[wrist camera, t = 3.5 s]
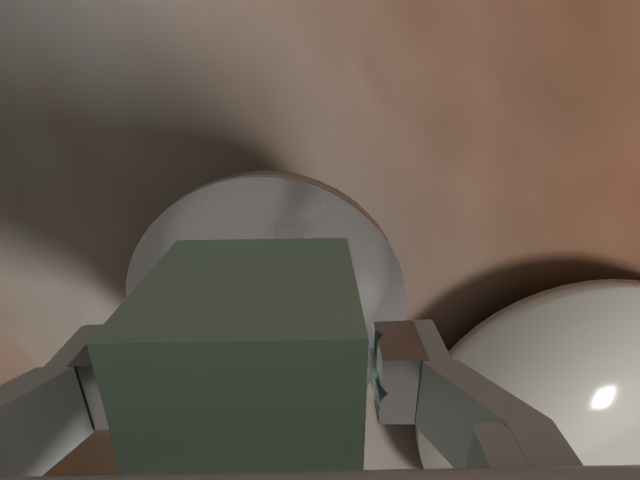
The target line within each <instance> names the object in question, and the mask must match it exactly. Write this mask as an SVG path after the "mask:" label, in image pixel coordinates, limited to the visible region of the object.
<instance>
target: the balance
mask: <svg viewBox="0 0 640 480" xmlns="http://www.w3.org/2000/svg"><path fill="white" fill-rule="evenodd" d="M301 238H347V240H348V245H349V249H350V254H351V259H352V263H353V268H354V273H355V277H356V282H357V287H358V291H359V296H360V301H361V305H362V310H363V315H364V319H365V324H366V329H367V333H368V338H369V346H368V369H367V385H368V384H369V383H370V382H371V380H370V370H369V350H370V349H371V348H372V342H371V337H370V330H371V322H378V321H405V316H406V290H405V283H404V279H403V275H402V272H401V269H400V265H399V263H398V261H397V258H396V256H395V254H394V252H393V250H392V248H391V246H390V243H389V241H388V239H387V237H386V236H385V234H384V233H383V231H382V230H381V228H380V227H379V225H378V224H377V223H376V222H375V220H374V219H373V218H372V217H371V216H370V215H369V214H368V213H367V212H366V210H364V209H363V208H362V207H361V206H360V205H358V204H357V203H356V202H355V201H354V200H353V199H351V198H350V197H348V196H347V195H345V194H343V193H342V192H340V191H339V190H337V189H335V188H333V187H331V186H329V185H327V184H325V183H323V182H320V181H318V180H315V179H312V178H308V177H305V176H302V175H298V174H292V173H287V172H281V171H263V170H261V171H248V172H240V173H235V174H230V175H225V176H222V177H219V178H216V179H213V180H211V181H208V182H205V183H203V184H201V185H200V186H198V187H196V188H194V189H192V190H190V191H188V192H187V193H186V194H184V195H183V196H182V197H180V198H179V199H177V200H176V201H175V202H174V203H173V204H171V205H170V206H169V207H168V208H167V209H166V210H165V211H164V212H163V213H162V214H161V215H160V216H159V217H158V218H157V219H156V220H155V221H154V222H153V223H152V224H151V225H150V226H149V228H148V229H147V231H146V232H145V233H144V235H143V236H142V237H141V239H140V241H139V243H138V245H137V247H136V249H135V250H134V252H133V255H132V258H131V261H130V264H129V267H128V272H127V278H126V284H125V299H126V298H127V297H128V296H129V295H130V293H131V292H132V291H133V290H134V289H135V288H136V287H137V285H138V284H139V283H140V282H141V281H142V280H143V279H144V277H145V276H146V275H147V274H148V273H149V272H150V271H151V269H152V268H153V267H154V266H155V265H156V264H157V262H158V261H159V260H160V259H161V258H162V257H163V256H164V254H165V253H166V252H167V251H168V250H169V249H170V248H171V246H172V245H173V244H174V243H175V242H176V241H177V240H230V239H301Z"/></svg>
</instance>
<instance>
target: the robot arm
mask: <svg viewBox="0 0 640 480" xmlns="http://www.w3.org/2000/svg"><path fill="white" fill-rule="evenodd" d="M101 327H102V325H85V326H81V327H80V328H79V330H78V331H77V332H76V333H75V334H74V335H73V336H72V337H71V338H70V339H69V340H68V341H67V342H66V344H65V345H64V346H63V347H62V348H61V349H60V350H59V351H58V352H57V353H56V354H55V355H54V356H53V358H52V359H51V360H50V361H49V362H48V363H47V364H46V365H45V366H44V367H36V368H34V369H32V370H30V371H28V372H26V373H24V374H22V375H20V376H18V377H16V378H14V379H12V380H10V381H8V382H6V383H4V384H2V385H0V480H640V464H636V465H585V466H584V465H583V464H582V462H581V461H580V459H579V458H578V456H577V455H576V454H575V452H574V451H573V449H572V448H571V446H570V445H569V443H568V442H567V440H566V439H565V438H564V436H563V435H562V433H561V432H560V430H559V429H558V427H557V426H556V424H555V423H554V422H553V420H552V419H550V418H549V417H547V416H546V415H544V414H542V413H541V412H539V411H538V410H536V409H534V408H533V407H531V406H530V405H528V404H527V403H525V402H523V401H522V400H520V399H519V398H517V397H516V396H514V395H512V394H511V393H509V392H508V391H506V390H505V389H503V388H501V387H500V386H498V385H497V384H495V383H494V382H492V381H490V380H489V379H487V378H486V377H484V376H482V375H481V374H479V373H478V372H476V371H475V370H473V369H471V368H470V367H468V366H467V365H465V364H464V363H462V362H460V361H459V360H452V358H451V356H450V354H449V352H448V350H447V348H446V346H445V344H444V342H443V340H442V338H441V336H440V334H439V332H438V330H437V328H436V326H435V324H434V322H433V321H432V320H431V319H422V320H408V321H378V322H371V330H370V337H371V342H372V348H371V349H370V350H369V370H370V380H371V386H372V389H373V390H375V400H374V402H375V408H376V413H377V418H378V423H379V424H415V427H416V428H417V429H418V430H419V431H420V432H421V433H422V434H423V435H424V436H425V438H426V439H427V440H428V441H429V442H430V443H431V444H432V445H433V446H434V447H435V448H436V449H437V451H438V452H439V453H440V454H441V455H442V456H443V457H444V458H445V459H446V460H447V461H448V462H449V464H450V465H451V466H452V467H453V468H441V469H390V470H334V471H278V472H229V473H181V474H133V475H83V476H42V475H44V474H45V473H46V472H47V471H48V470H50V469H51V468H52V467H53V466H54V465H55V464H57V463H58V462H59V461H60V460H61V459H63V458H64V457H65V456H66V455H67V454H69V453H70V452H71V451H72V450H73V449H75V448H76V447H77V446H78V445H79V444H80V443H82V442H83V441H84V440H85V439H86V438H88V437H89V436H90V435H91V434H92V433H94V431H93V430H109V426H108V422H107V418H106V415H105V411H104V407H103V404H102V400H101V396H100V392H99V389H98V385H97V381H96V378H95V374H94V370H93V366H92V363H91V359H90V355H89V351H88V348H87V343H88V342H89V340H90V339H91V338H92V337H93V336H94V335H95V333H96V332H97V331H98V330H99V329H100V328H101Z"/></svg>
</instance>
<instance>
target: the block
mask: <svg viewBox="0 0 640 480" xmlns="http://www.w3.org/2000/svg"><path fill="white" fill-rule="evenodd" d="M368 346H369V338H368V333H367V329H366V324H365V319H364V315H363V310H362V305H361V301H360V296H359V291H358V287H357V282H356V277H355V273H354V268H353V263H352V259H351V254H350V249H349V245H348V240H347V238H301V239H230V240H177V241H176V242H175V243H174V244H173V245H172V246H171V248H170V249H169V250H168V251H167V252H166V253H165V254H164V256H163V257H162V258H161V259H160V260H159V261H158V262H157V264H156V265H155V266H154V267H153V268H152V269H151V271H150V272H149V273H148V274H147V275H146V276H145V277H144V279H143V280H142V281H141V282H140V283H139V284H138V285H137V287H136V288H135V289H134V290H133V291H132V292H131V293H130V295H129V296H128V297H127V298H126V299H125V300H124V301H123V303H122V304H121V305H120V306H119V307H118V308H117V309H116V311H115V312H114V313H113V314H112V315H111V316H110V317H109V319H108V320H107V321H106V322H105V323H104V324H103V325H102V327H101V328H100V329H99V330H98V331H97V332H96V333H95V335H94V336H93V337H92V338H91V339H90V340H89V342H88V343H87V348H88V351H89V355H90V359H91V363H92V366H93V370H94V374H95V378H96V381H97V385H98V389H99V392H100V396H101V400H102V404H103V407H104V411H105V415H106V418H107V422H108V426H109V430H110V433H111V437H112V441H113V445H114V448H115V452H116V456H117V459H118V463H119V467H120V471H121V474H122V475H133V474H181V473H229V472H278V471H334V470H363V464H364V440H365V417H366V393H367V369H368Z"/></svg>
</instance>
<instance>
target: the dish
mask: <svg viewBox="0 0 640 480" xmlns="http://www.w3.org/2000/svg"><path fill="white" fill-rule="evenodd" d="M448 352H449V354H450V356H451V358H452V360H459V361H460V362H462V363H464V364H465V365H467V366H468V367H470V368H471V369H473V370H475V371H476V372H478V373H479V374H481V375H482V376H484V377H486V378H487V379H489V380H490V381H492V382H494V383H495V384H497V385H498V386H500V387H501V388H503V389H505V390H506V391H508V392H509V393H511V394H512V395H514V396H516V397H517V398H519V399H520V400H522V401H523V402H525V403H527V404H528V405H530V406H531V407H533V408H534V409H536V410H538V411H539V412H541V413H542V414H544V415H546V416H547V417H549V418H550V419H552V420H553V422H554V423H555V424H556V426H557V427H558V429H559V430H560V432H561V433H562V435H563V436H564V438H565V439H566V440H567V442H568V443H569V445H570V446H571V448H572V449H573V451H574V452H575V454H576V455H577V456H578V458H579V459H580V461H581V462H582V464H583V465H584V466H585V465H636V464H640V281H639V280H627V279H603V280H589V281H583V282H577V283H572V284H566V285H562V286H559V287H555V288H552V289H548V290H545V291H542V292H539V293H536V294H534V295H531V296H529V297H526V298H524V299H521V300H519V301H517V302H515V303H513V304H511V305H509V306H507V307H505V308H503V309H502V310H500V311H498V312H496V313H494V314H493V315H491V316H490V317H488V318H487V319H485V320H484V321H482V322H481V323H480V324H478V325H477V326H475V327H474V328H473V329H472V330H471V331H469V332H468V333H467V334H466V335H465V336H463V337H462V338H461V339H460V340H459V341H458V342H457V343H456V344H455V345H454V346H453V347H452V348H451V349H450V350H449V351H448ZM415 435H416V441H417V447H418V451H419V454H420V458H421V462H422V464H423V467H424V469H441V468H453V467H452V466H451V465H450V464H449V462H448V461H447V460H446V459H445V458H444V457H443V456H442V455H441V454H440V453H439V452H438V451H437V449H436V448H435V447H434V446H433V445H432V444H431V443H430V442H429V441H428V440H427V439H426V438H425V436H424V435H423V434H422V433H421V432H420V431H419V430H418V429H417V428H416V427H415Z"/></svg>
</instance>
